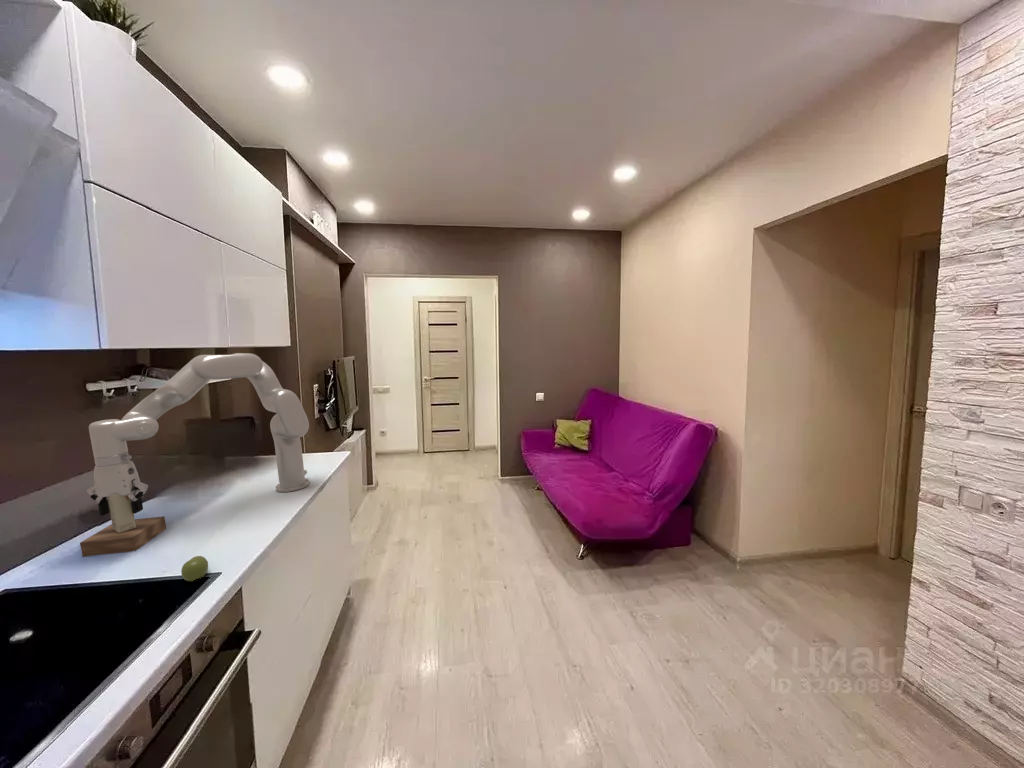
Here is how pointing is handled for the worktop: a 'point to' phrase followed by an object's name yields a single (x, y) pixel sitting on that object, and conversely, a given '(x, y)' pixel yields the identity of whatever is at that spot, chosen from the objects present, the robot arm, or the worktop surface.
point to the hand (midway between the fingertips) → (122, 512)
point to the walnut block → (123, 537)
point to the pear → (194, 568)
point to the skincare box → (121, 513)
